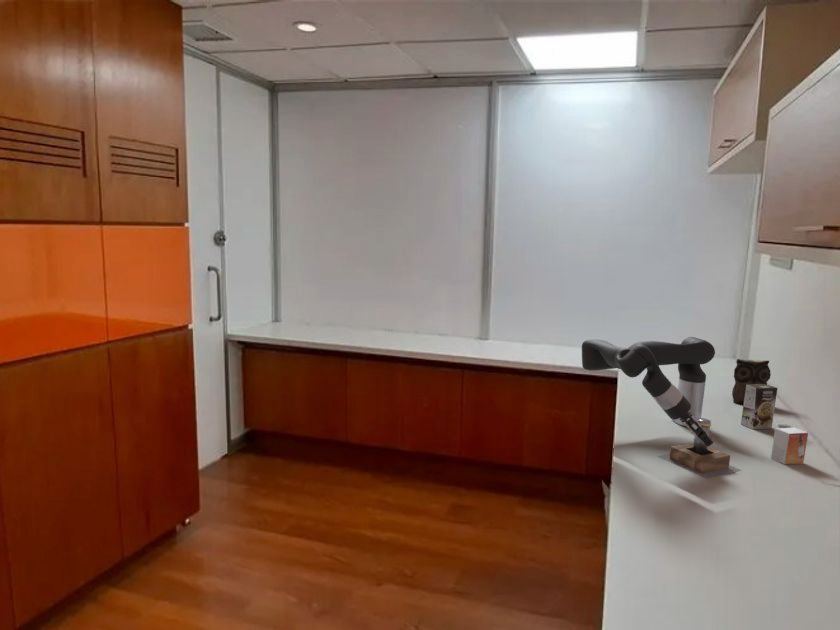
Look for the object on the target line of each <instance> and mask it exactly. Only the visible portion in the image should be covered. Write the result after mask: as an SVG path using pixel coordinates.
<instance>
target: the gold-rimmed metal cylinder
mask: <svg viewBox="0 0 840 630" xmlns="http://www.w3.org/2000/svg"><path fill="white" fill-rule="evenodd" d="M697 421H698V422H699V424H700V425H701V428H702V429H703V430H704V431H705V432H706V435H707V436H708V437H709V438H710V429H711V427H712V422H711V420H710V419H707V418H703V417H701V418H697ZM701 432H702V431H701ZM699 433H700V432H699ZM699 433H698V434H699ZM693 442H694V444H693V452H695V453H697V454H699V455H707V447H708V446H706V445H705V443H704V442H703V441H702V440H701V439H700V438H698V437H697V435H696V434H695V433H694V437H693Z"/></svg>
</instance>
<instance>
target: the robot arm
mask: <svg viewBox="0 0 840 630" xmlns="http://www.w3.org/2000/svg"><path fill="white" fill-rule="evenodd" d="M715 355H716V349H715V347H714V345H713V344H712V343H710V342H709V341H707V340H704V339H701V338H697V337H695V336H688V337H685V338H684V339H683V340H682V342H681V343H673V342H666V341H658V340H657V341H656V340H655V341H654V340H649V341H646V340H645V341H638V342H635V343H632V345H630V346H629V347H627V348H626V347H621V346H616V345H614V344H613V343H611V342H608V341H606V340H603V339H596V338H595V339H587V340H585V341H583V342H582V344H581V364H582V369H584V370H586V371H604V370H605V371H606V370H612V369H613V370H614V369H618V370H621V371H622V373H624V374H625V375H626V376H627V377H629V378H636V377H638V376H640V375H641V374H642V373H643V372H644V371H646V374H645V375H644V377H643V379H642V381H641V384H642V386H643V387H644V389H645V390H646V391H647V392H648V394H650V395H651V397H652V398H653V399H654V401H655V402H656V404H657V405H658V406H659V407H660V409H661V410H662V411H664V413H665V414H666V415H667V416H668V417H669V418H670V420H672V421H673V422H674V423H676V424H677V425H679V426H684V427H686V428H687V429H688V430H689V431H690V432H691V433H692V434H694V435H695V434H696V435H697V437H698V438H700V439H701V440H702V441H703V442H704V443H705V445H706V446H709V447H711V445H713V443H714V442H713V440H712V438H710V436H709V437H708V436H707V435H706V432H705V431H704V430H703V429H702V428H701V425H700V424H699V422H698V421H697V418H702V414H703V405H704V398H705V390H706V389H705V387H706V382H707V381H706V380H707V374H706V373H705V372H704V370H703V369H702V367H701V365H705V364H707V363H709V362H711V361H712V360H713V358H714V357H715ZM670 365H677V371H678V374H679V376H678V385H677V386H676V385H674V384H673V383H672V382H671V381H670V379H668V377H667V376H666V375H665V374H664V373H663V371H662V369H661V368H660V366H670ZM701 431H702V432H701ZM699 432H700V433H699ZM698 433H699V434H698Z"/></svg>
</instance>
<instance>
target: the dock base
mask: <svg viewBox="0 0 840 630" xmlns="http://www.w3.org/2000/svg"><path fill="white" fill-rule="evenodd" d="M657 457H659V458H660V459H662V460H664V461H667V462H670V463H671V464H673V465H675V466H678V467H681V468H682V469H685V470H686V471H689V472H691V473H693V474H696V475H698V476H700V477H702V478H705V479H711V478H716V477H719V476H723V475H727V474H733V473H737V472H742V469H741V468H740V469H739V468H737V467H735V466H732V465H730V464H729V468H724V469H720V470H715V471H711V472H706V473H700V472H698V471H696V470H694V469H691V468H689V467H687V466H685V465H683V464H680V463H678V462H676V461H674V460H671V459H669V458H670V453H667V454H661V455H657Z"/></svg>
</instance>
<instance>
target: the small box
mask: <svg viewBox="0 0 840 630" xmlns="http://www.w3.org/2000/svg"><path fill="white" fill-rule="evenodd" d="M808 436H809V433H808V432H807V431H805V430H802V429H799V428H797V427H781V428H777V427H776V428H774V435H773V442H772V447H771V448H772V449H771V454H770V458H771V459H772V460H774V461H777V462H778V463H780V464H783V465H792V464H793V465H795V464H796V465H797V464H799V465H800V464H804V462H805V455H806V448H807V443H808Z"/></svg>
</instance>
